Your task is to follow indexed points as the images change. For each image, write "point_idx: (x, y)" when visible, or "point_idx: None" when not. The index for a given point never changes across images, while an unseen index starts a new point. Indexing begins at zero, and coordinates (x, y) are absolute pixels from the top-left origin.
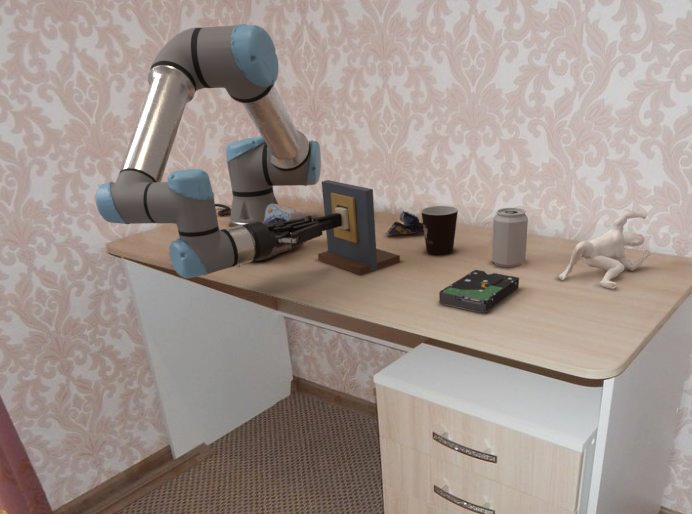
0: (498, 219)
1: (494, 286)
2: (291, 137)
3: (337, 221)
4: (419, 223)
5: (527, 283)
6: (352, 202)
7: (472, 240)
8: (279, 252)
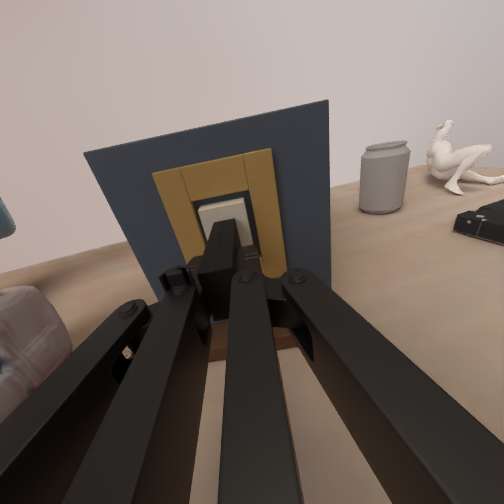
0: (394, 153)
1: None
2: None
3: (239, 243)
4: None
5: (470, 208)
6: (271, 163)
7: None
8: None
